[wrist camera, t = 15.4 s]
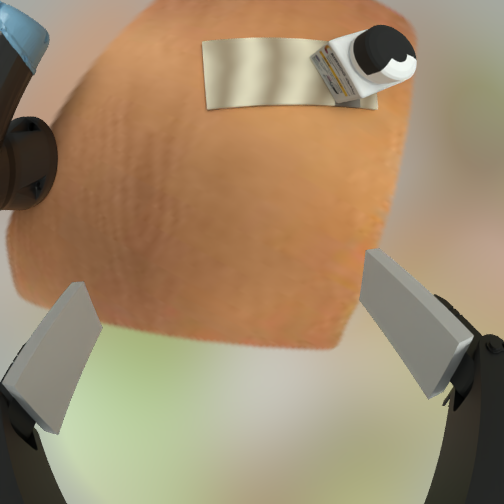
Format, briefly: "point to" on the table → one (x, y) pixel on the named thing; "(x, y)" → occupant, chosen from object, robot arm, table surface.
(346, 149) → the table surface
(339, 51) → the container
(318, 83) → the metal panel
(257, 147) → the table surface
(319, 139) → the table surface
